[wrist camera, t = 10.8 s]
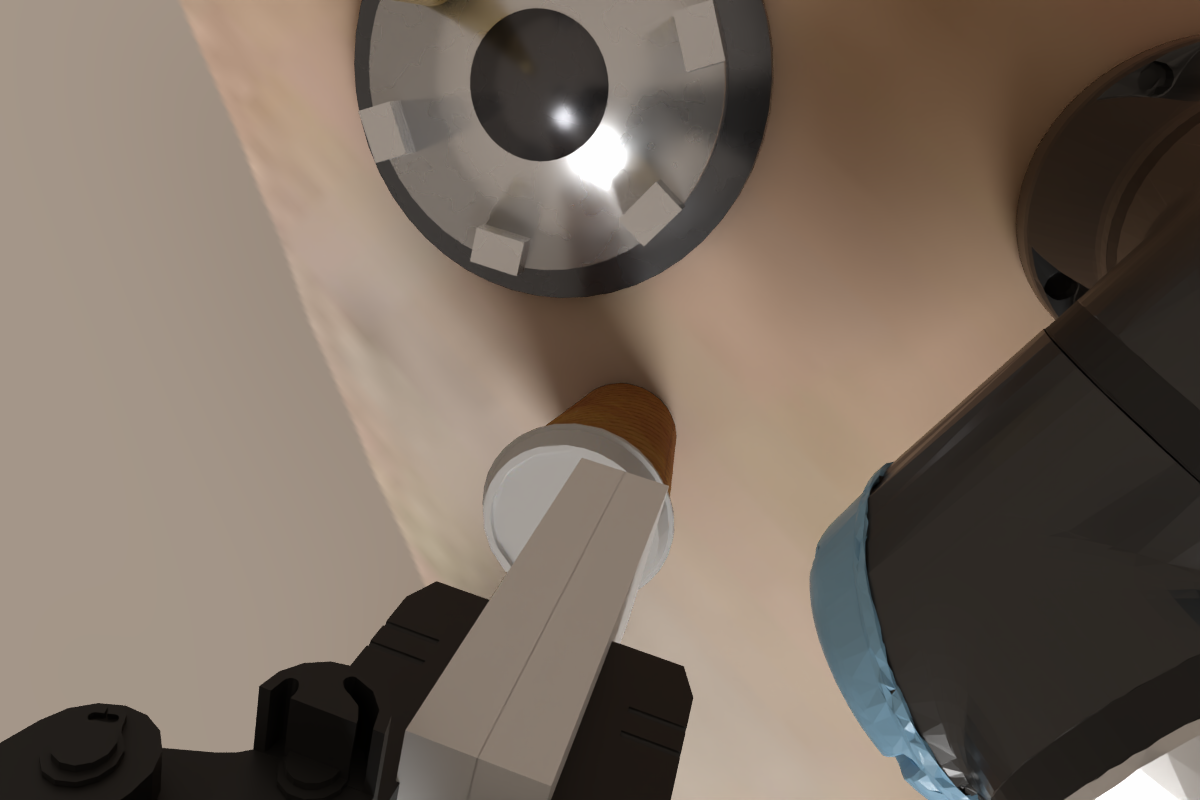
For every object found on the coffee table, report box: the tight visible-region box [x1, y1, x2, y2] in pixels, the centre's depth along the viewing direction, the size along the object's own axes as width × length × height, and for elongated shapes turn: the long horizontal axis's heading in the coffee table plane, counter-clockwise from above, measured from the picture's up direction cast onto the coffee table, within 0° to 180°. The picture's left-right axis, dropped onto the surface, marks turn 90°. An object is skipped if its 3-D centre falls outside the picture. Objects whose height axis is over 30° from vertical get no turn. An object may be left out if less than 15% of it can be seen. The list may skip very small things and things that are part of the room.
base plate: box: [354, 0, 773, 298], centre depth 45 cm, size 22×22×2 cm
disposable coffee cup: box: [483, 383, 676, 589], centre depth 47 cm, size 10×10×12 cm
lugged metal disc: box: [359, 0, 729, 276], centre depth 39 cm, size 18×18×12 cm
